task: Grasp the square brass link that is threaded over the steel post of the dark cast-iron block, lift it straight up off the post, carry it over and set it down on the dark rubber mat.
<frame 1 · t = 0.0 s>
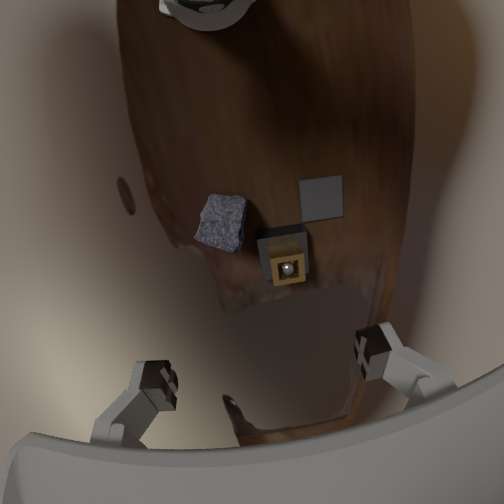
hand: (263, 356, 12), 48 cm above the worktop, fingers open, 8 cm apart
stone: (221, 211, 60), on the worktop
ring: (284, 257, 61), point 4 cm above the worktop, touching post block
mat: (321, 198, 60), on the worktop
post block: (281, 247, 65), on the worktop
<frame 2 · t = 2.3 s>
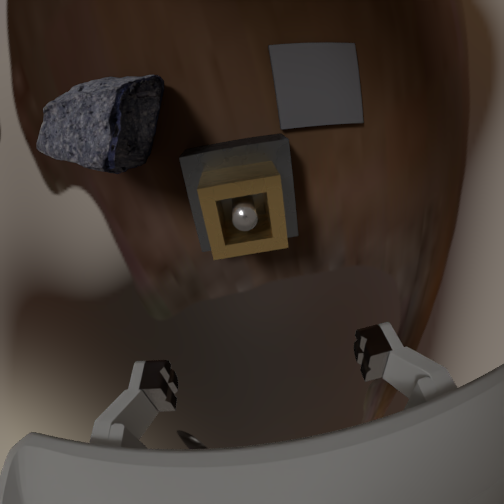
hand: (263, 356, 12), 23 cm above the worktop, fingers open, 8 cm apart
stone: (121, 114, 26), on the worktop
ring: (242, 198, 28), point 4 cm above the worktop, touching post block
mat: (317, 83, 26), on the worktop
post block: (240, 185, 31), on the worktop
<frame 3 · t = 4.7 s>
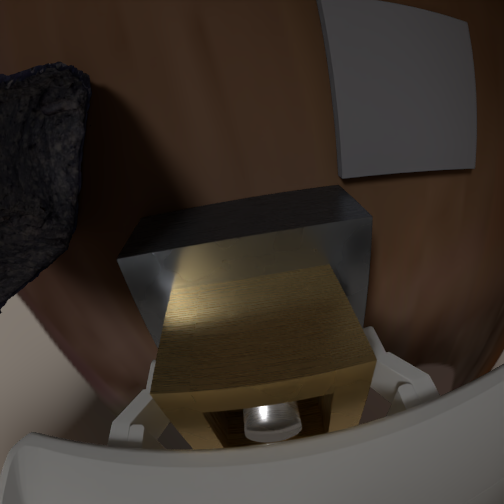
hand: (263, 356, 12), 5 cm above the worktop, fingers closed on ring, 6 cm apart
stone: (25, 150, 12), on the worktop
ring: (260, 334, 13), point 4 cm above the worktop, touching gripper, post block
mat: (411, 86, 12), on the worktop
post block: (253, 283, 17), on the worktop
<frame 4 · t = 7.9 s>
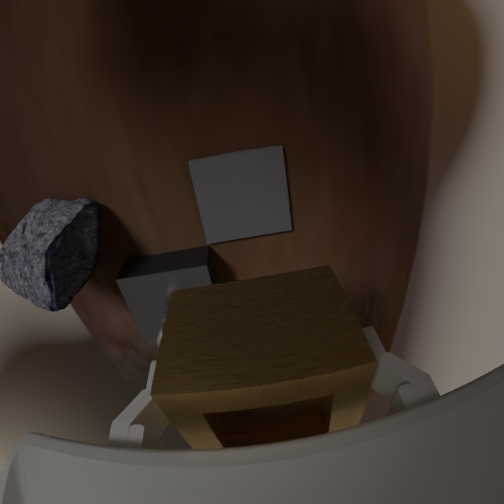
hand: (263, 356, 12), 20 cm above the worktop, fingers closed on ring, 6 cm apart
stone: (69, 226, 30), on the worktop
ring: (260, 335, 13), point 19 cm above the worktop, touching gripper
mat: (242, 194, 30), on the worktop
post block: (177, 288, 35), on the worktop
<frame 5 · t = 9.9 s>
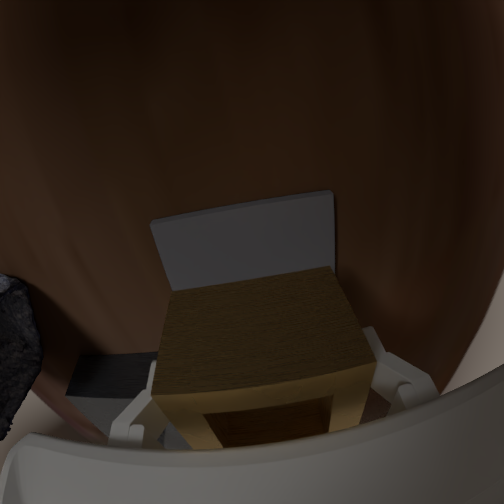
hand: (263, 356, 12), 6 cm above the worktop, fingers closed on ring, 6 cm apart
stone: (0, 305, 17), on the worktop
ring: (260, 335, 13), point 4 cm above the worktop, touching gripper
mat: (253, 278, 17), on the worktop
post block: (157, 391, 22), on the worktop
when the fingers open (4 cm above the worktop, at t = 11.3 s): ring drops 2 cm, resting on mat.
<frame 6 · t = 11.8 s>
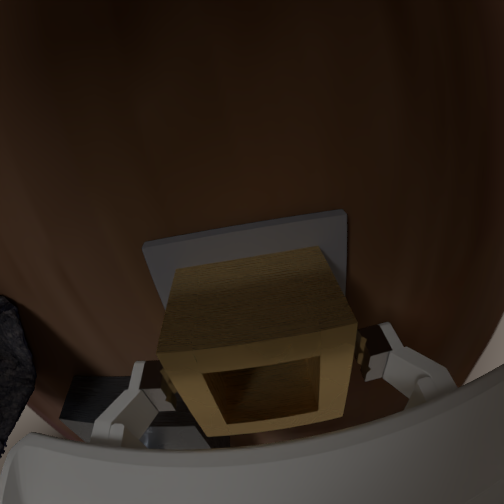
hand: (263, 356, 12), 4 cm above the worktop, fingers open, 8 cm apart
ring: (256, 312, 15), point 1 cm above the worktop, touching mat
mat: (256, 304, 15), on the worktop
post block: (155, 412, 20), on the worktop
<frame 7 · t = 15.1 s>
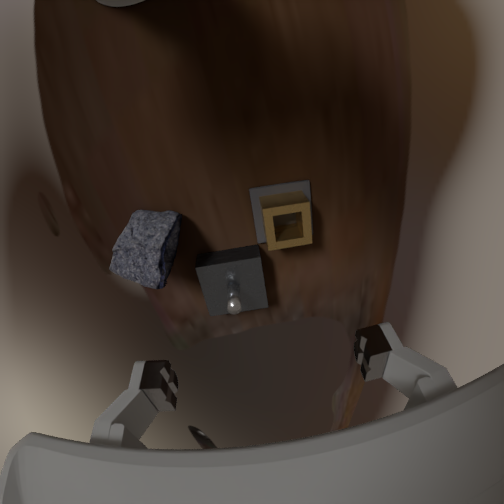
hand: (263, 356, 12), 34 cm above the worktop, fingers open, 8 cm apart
stone: (153, 230, 46), on the worktop
ring: (282, 213, 45), point 1 cm above the worktop, touching mat
mat: (282, 211, 46), on the worktop
post block: (233, 274, 51), on the worktop
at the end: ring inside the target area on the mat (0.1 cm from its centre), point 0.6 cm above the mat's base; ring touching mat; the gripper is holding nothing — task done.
